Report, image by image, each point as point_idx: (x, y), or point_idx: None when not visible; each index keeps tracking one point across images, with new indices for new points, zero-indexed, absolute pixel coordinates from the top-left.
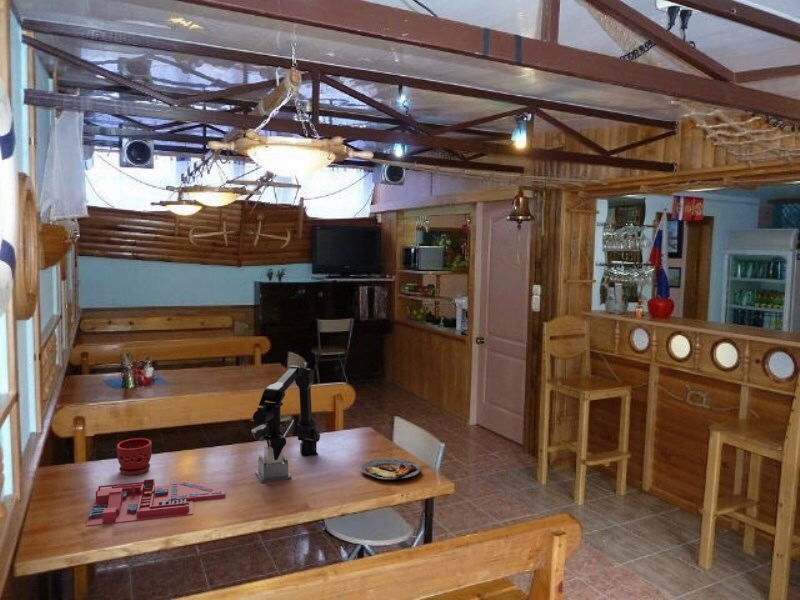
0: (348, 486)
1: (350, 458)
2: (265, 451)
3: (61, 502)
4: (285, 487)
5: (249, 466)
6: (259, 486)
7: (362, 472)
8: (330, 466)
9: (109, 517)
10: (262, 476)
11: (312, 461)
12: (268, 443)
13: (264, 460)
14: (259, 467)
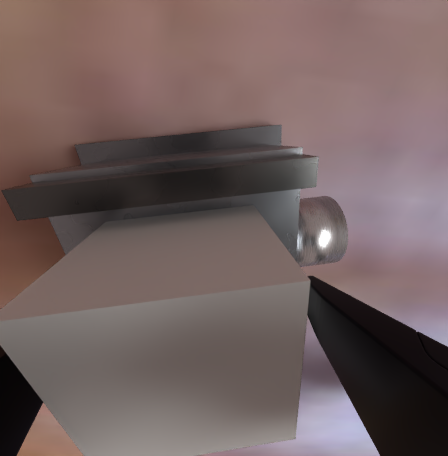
0: (39, 438)
1: (288, 445)
2: (192, 263)
3: None
4: (12, 265)
5: (400, 99)
6: (17, 124)
7: None
8: None
9: None
10: (124, 159)
11: (312, 370)
12: (403, 376)
13: (104, 204)
14: (227, 150)
